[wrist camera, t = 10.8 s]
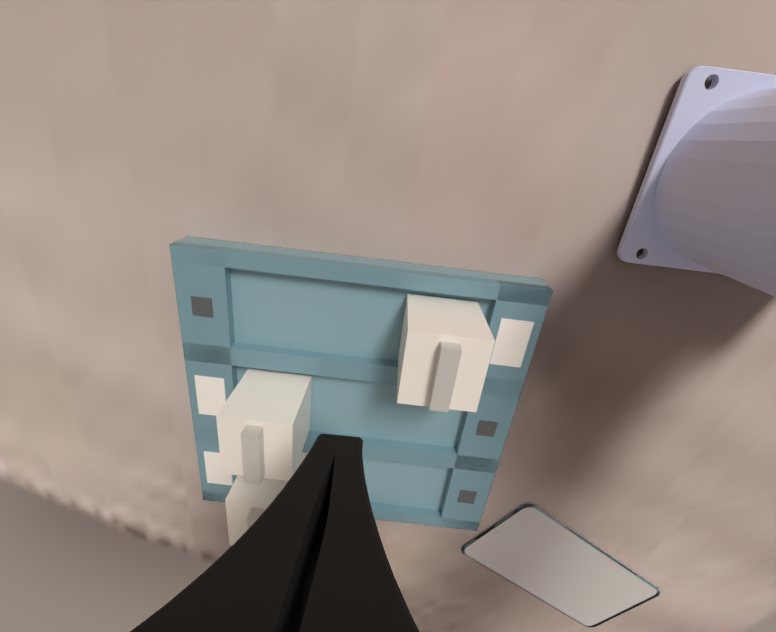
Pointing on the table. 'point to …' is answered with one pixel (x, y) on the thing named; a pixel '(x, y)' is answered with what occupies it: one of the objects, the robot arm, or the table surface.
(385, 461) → the switch board
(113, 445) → the table surface
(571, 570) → the smartphone
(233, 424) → the tab
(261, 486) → the tab
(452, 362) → the tab
